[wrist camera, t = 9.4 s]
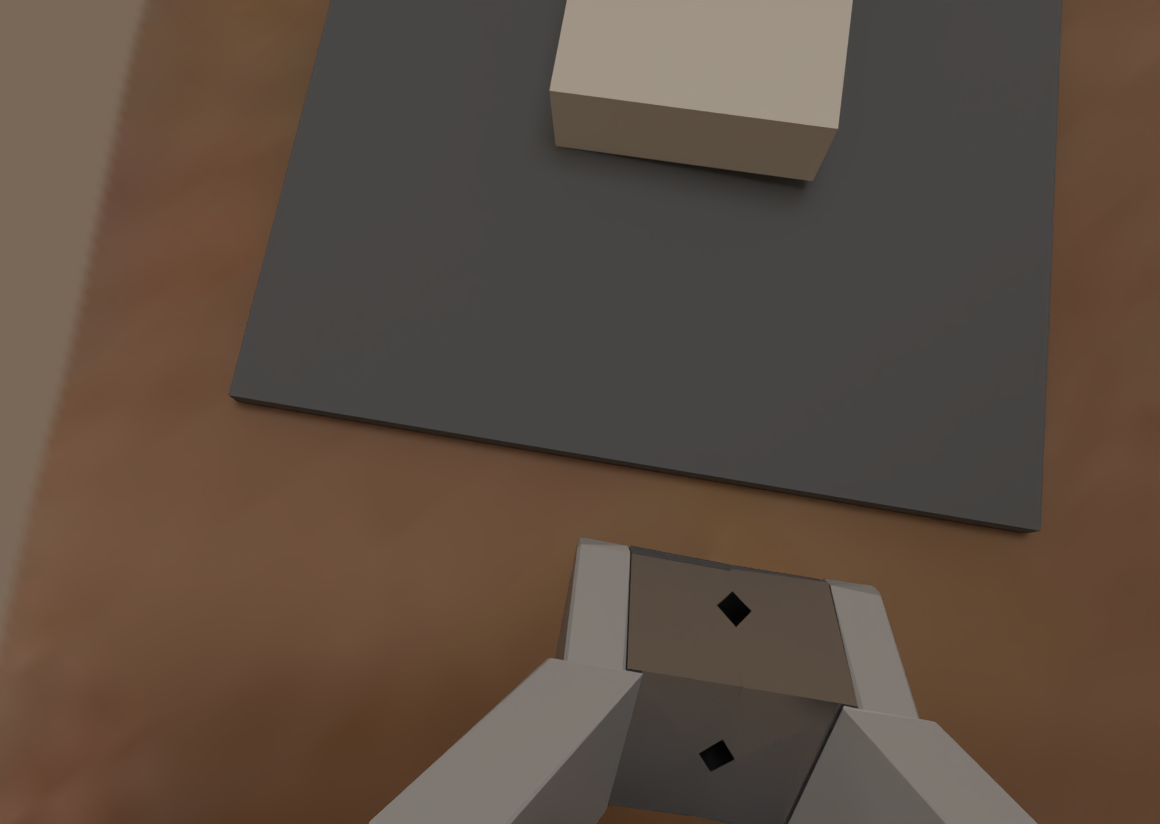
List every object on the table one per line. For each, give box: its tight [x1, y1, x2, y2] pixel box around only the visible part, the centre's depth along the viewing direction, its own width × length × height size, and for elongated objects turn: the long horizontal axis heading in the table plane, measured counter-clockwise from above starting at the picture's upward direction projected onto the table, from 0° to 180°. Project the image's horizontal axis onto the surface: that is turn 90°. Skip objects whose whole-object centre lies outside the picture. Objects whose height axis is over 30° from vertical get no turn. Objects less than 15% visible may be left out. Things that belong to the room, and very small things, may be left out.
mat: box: [229, 0, 1062, 533], centre depth 23 cm, size 19×22×1 cm
